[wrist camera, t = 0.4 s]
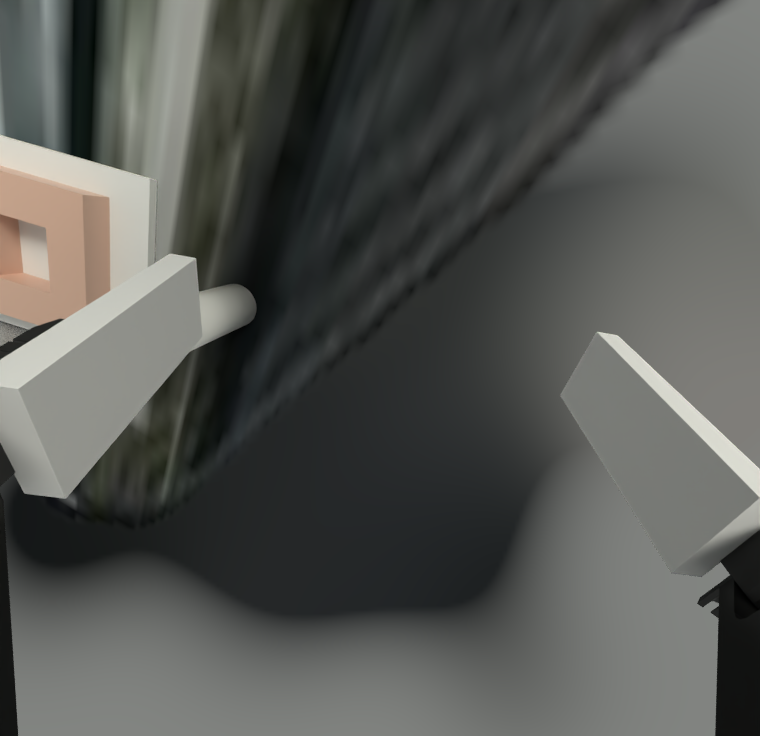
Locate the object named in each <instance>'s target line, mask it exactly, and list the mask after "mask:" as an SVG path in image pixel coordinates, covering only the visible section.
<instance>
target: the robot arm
mask: <svg viewBox="0 0 760 736" xmlns="http://www.w3.org/2000/svg"><path fill="white" fill-rule="evenodd" d="M202 336H203V335H202V323H201V311H200V300H199V288H198V276H197V265H196V258H192V257H186V256H181V255H175V254H168V255H167V256H165V257H164V258H162V259H160V260H159V261H157V262H156V263H154V264H152V265H151V266H149V267H148V268H146V269H144V270H143V271H141V272H140V273H138V274H136V275H135V276H133V277H132V278H130V279H128V280H127V281H125V282H124V283H122V284H120V285H119V286H117V287H116V288H114V289H112V290H111V291H109V292H108V293H106V294H104V295H103V296H101V297H100V298H98V299H96V300H95V301H93V302H92V303H90V304H88V305H87V306H85V307H84V308H82V309H80V310H79V311H77V312H76V313H74V314H72V315H71V316H69V317H68V318H66V319H57V320H54V321H51V322H48V323H44V324H41V325H38V326H35V327H33V328H31V329H29V330H28V331H26V332H24V333H23V334H21V335H19V336H18V337H16V338H14V339H13V342H7V343H6V344H4V345H2V346H1V347H0V486H1V485H2V484H3V483H4V482H5V481H7V479H9V478H10V477H11V476H12V475H13V474H14V475H15V476H16V478H17V480H18V482H19V484H20V486H21V488H22V490H23V492H24V493H25V494H33V495H41V496H49V497H57V498H65V499H66V498H67V497H68V495H69V494H70V493H71V492H72V491H73V489H74V488H75V487H76V486H77V485H78V484H79V482H80V481H81V480H82V479H83V478H84V476H85V475H86V474H87V473H88V472H89V470H90V469H91V468H92V467H93V466H94V465H95V463H96V462H97V461H98V460H99V459H100V457H101V456H102V455H103V454H104V453H105V451H106V450H107V449H108V448H109V447H110V446H111V444H112V443H113V442H114V441H115V440H116V438H117V437H118V436H119V435H120V434H121V433H122V431H123V430H124V429H125V428H126V427H127V425H128V424H129V423H130V422H131V421H132V419H133V418H134V417H135V416H136V415H137V414H138V412H139V411H140V410H141V409H142V408H143V406H144V405H145V404H146V403H147V402H148V400H149V399H150V398H151V397H152V396H153V395H154V393H155V392H156V391H157V390H158V389H159V387H160V386H161V385H162V384H163V383H164V382H165V380H166V379H167V378H168V377H169V376H170V374H171V373H172V372H173V371H174V370H175V368H176V367H177V366H178V365H179V364H180V363H181V361H182V360H183V359H184V358H185V357H186V355H187V354H188V353H189V352H190V351H191V349H192V348H193V347H194V346H195V345H196V344H197V342H198V341H199V340H200V339H201V338H202ZM560 396H561V398H562V399H563V401H564V402H565V404H566V406H567V407H568V409H569V410H570V412H571V413H572V415H573V417H574V418H575V420H576V422H577V423H578V425H579V426H580V428H581V430H582V431H583V433H584V434H585V436H586V438H587V439H588V441H589V442H590V444H591V446H592V447H593V448H594V450H595V452H596V453H597V455H598V457H599V458H600V460H601V462H602V463H603V465H604V466H605V468H606V470H607V471H608V472H609V474H610V476H611V478H612V479H613V481H614V482H615V484H616V485H617V487H618V489H619V490H620V492H621V493H622V495H623V497H624V498H625V500H626V502H627V503H628V505H629V506H630V508H631V510H632V511H633V513H634V514H635V516H636V518H637V519H638V521H639V522H640V524H641V526H642V527H643V529H644V530H645V532H646V533H647V535H648V537H649V538H650V540H651V542H652V543H653V545H654V546H655V548H656V550H657V551H658V553H659V554H660V556H661V557H662V559H663V561H664V562H665V564H666V566H667V567H668V569H669V570H670V572H671V573H674V574H682V575H690V576H698V577H702V576H703V575H705V574H706V573H707V572H709V571H710V570H711V569H712V568H714V567H715V566H716V565H717V564H719V563H720V562H721V563H722V564H723V565H724V567H725V568H726V570H727V571H728V572H729V574H730V576H728V577H727V578H726V579H724V580H723V581H722V582H721V583H719V584H718V585H716V586H715V587H714V588H712V589H711V590H710V591H708V592H707V593H706V594H704V595H703V596H702V597H700V599H699V601H698V603H697V604H699V605H700V606H702V607H704V606H705V605H706V604H708V603H709V602H711V601H715V602H718V603H719V606H718V607H717V608H715V609H714V610H713V611H711V613H712V614H714V615H715V616H716V617H718V618H719V622H718V623H719V624H718V659H717V660H718V661H717V696H716V732H715V736H760V469H759V468H758V467H757V466H756V465H755V464H754V463H753V462H751V460H749V459H748V458H747V457H746V456H745V455H744V454H743V453H742V452H741V451H740V450H739V449H738V448H737V447H736V446H735V445H733V443H731V442H730V441H729V440H728V439H727V438H726V437H725V436H724V435H723V434H722V433H721V432H720V431H719V430H718V429H716V428H715V427H714V426H713V425H712V424H711V423H710V422H709V421H708V420H707V419H706V418H705V417H704V416H703V415H702V414H701V413H700V412H699V411H697V410H696V409H695V408H694V407H693V406H692V405H691V404H690V403H689V402H688V401H687V400H686V399H685V398H683V396H682V395H680V394H679V393H678V392H677V391H676V390H675V389H674V388H673V387H672V386H671V385H670V384H669V383H667V381H666V380H665V379H663V378H662V377H661V376H660V375H659V374H658V373H657V372H656V371H655V370H654V369H653V368H652V367H651V366H650V365H648V364H647V363H646V362H645V361H644V360H643V359H642V358H641V357H640V356H639V355H638V354H637V353H636V352H635V351H634V350H632V348H631V347H629V346H628V345H627V344H626V343H625V342H624V341H623V340H622V339H621V338H620V337H619V336H618V335H612V334H607V333H601V332H596V334H595V336H594V337H593V339H592V341H591V343H590V344H589V346H588V348H587V349H586V352H585V353H584V355H583V357H582V358H581V360H580V362H579V364H578V365H577V367H576V369H575V370H574V372H573V374H572V376H571V377H570V379H569V381H568V383H567V384H566V386H565V388H564V389H563V391H562V393H561V395H560ZM9 598H10V597H9V581H8V566H7V550H6V533H5V518H4V501H3V499H2V497H1V495H0V736H18V726H17V709H16V693H15V678H14V661H13V645H12V629H11V614H10V599H9Z"/></svg>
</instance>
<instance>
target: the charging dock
mask: <svg viewBox="0 0 760 736" xmlns="http://www.w3.org/2000/svg"><path fill="white" fill-rule="evenodd" d="M156 205H157V180H155V179H152V178H148V177H145V176H141V175H138V174H134V173H131V172H127V171H124V170H120V169H117V168H114V167H110V166H107V165H103V164H100V163H96V162H93V161H89V160H86V159H82V158H79V157H75V156H72V155H68V154H65V153H61V152H58V151H54V150H51V149H48V148H44V147H41V146H37V145H34V144H30V143H27V142H23V141H20V140H16V139H13V138H9V137H6V136H2V135H0V321H3V322H6V323H9V324H12V325H16V326H19V327H22V328H25V329H28V330H29V329H31V328H33V327H35V326H38V325H41V324H44V323H48V322H51V321H54V320H57V319H66V318H68V317H69V316H71V315H72V314H74V313H76V312H77V311H79V310H80V309H82V308H84V307H85V306H87V305H88V304H90V303H92V302H93V301H95V300H96V299H98V298H100V297H101V296H103V295H104V294H106V293H108V292H109V291H111V290H112V289H114V288H116V287H117V286H119V285H120V284H122V283H124V282H125V281H127V280H128V279H130V278H132V277H133V276H135V275H136V274H138V273H140V272H141V271H143V270H144V269H146V268H148V267H149V266H151V265H152V264H154V263H155V235H156Z"/></svg>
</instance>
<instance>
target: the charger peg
mask: <svg viewBox="0 0 760 736" xmlns="http://www.w3.org/2000/svg"><path fill="white" fill-rule="evenodd" d="M199 300H200V311H201V323H202V335H203V336H202V338H201V339H200V340H199V341H198V342H197V344H196V345H195V346H194V347H193V348H192V349H191V351H192V350H194V349H196V348H198V347H200V346H203V345H205V344H207V343H209V342H211V341H213V340H215V339H217V338H219V337H221V336H224V335H226V334H228V333H230V332H232V331H234V330H236V329H238V328H240V327H242V326H245V325H247V324H249V323H250V322H251V321H252V320H253V319H254V317H255V315H256V309H257V308H256V302H255V299H254V297H253V295H252V294H251V292H250V291H249V290H248V289H246V288H245V287H243V286H241V285H239V284H228V285H224V286H220V287H216V288H212V289H208V290H204V291H200V292H199Z"/></svg>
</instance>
